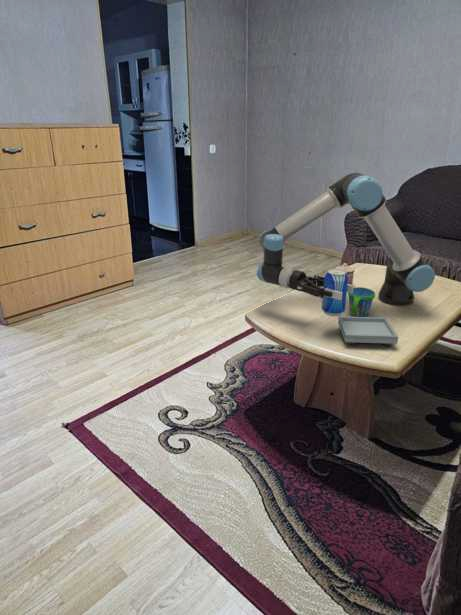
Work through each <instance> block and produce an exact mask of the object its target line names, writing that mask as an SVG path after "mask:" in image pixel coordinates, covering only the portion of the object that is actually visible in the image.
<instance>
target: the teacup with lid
mask: <svg viewBox="0 0 461 615" xmlns="http://www.w3.org/2000/svg"><path fill="white" fill-rule="evenodd" d="M334 269H342V270H345V271H346V274H347V276H348V284H349V285H353V280H354V274H355V268H354V267H353V266H352V267H351V266H350V265H348V263H346V262H345V263H342V265H338V266H336V267H335V268H334Z"/></svg>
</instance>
